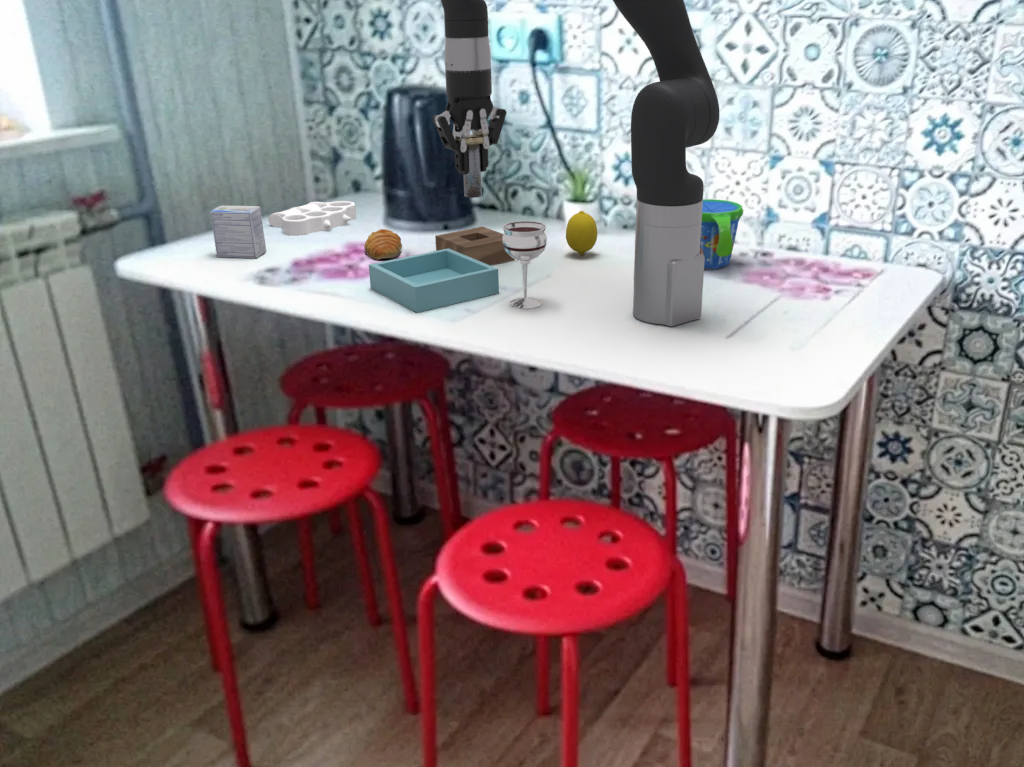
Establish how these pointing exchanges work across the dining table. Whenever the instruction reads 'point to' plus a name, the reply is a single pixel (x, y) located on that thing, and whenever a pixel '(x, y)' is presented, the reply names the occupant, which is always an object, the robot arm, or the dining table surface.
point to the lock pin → (473, 167)
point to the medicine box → (238, 231)
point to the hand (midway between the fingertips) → (472, 171)
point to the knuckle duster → (314, 217)
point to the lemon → (581, 232)
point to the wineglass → (524, 251)
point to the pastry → (383, 244)
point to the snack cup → (718, 231)
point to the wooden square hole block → (475, 244)
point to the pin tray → (433, 279)
